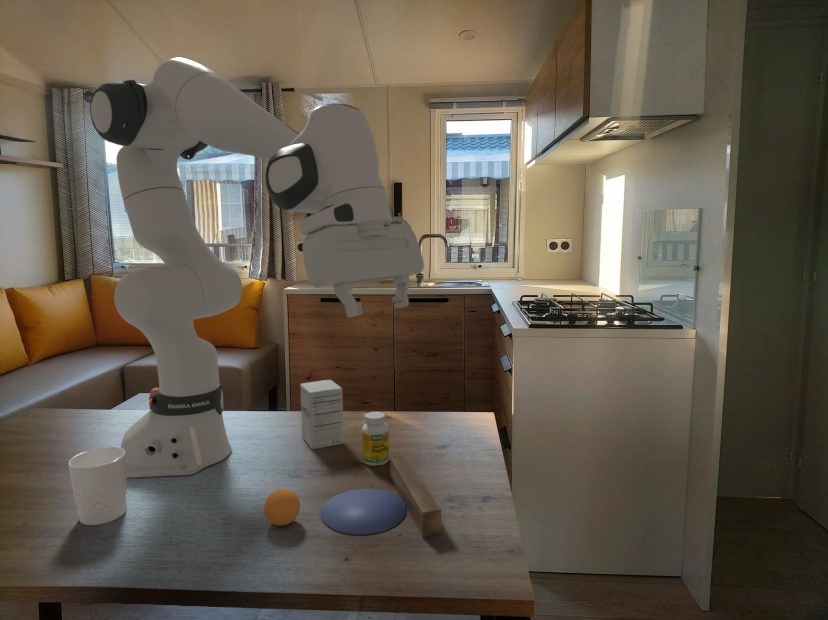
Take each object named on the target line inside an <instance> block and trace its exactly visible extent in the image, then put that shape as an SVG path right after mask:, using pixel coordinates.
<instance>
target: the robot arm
mask: <svg viewBox="0 0 828 620" xmlns="http://www.w3.org/2000/svg"><path fill="white" fill-rule="evenodd" d="M153 75H154V76H153V78H152V82H151V83H149V84H143V83H139V82H136V81H135V79H133V78H132V79H127V80H123V81H113V82H107V83H103V84H101V85H100V86H98V87H97V89H95V90H94V92H93V93H92V96H91V99H90V102H89V103H90V104H89V111H90V112H89V114H90V119H91V123H92V126H93V128H94V129H95V131H96V133H97V134H98V135H99V137H100V138H101V139H103V140H104V141H106V142H108V143H112V144H114V145H118V146H121V148H120V149H119V151H118V152H117V154H116V171H117V177H118V183H119V184H118V185H119V190H120V194H121V197H122V200H123V205H124V208H125V210H126V215H127V218H128V220H129V221H128V222H129V224H130V228H131V231H132V234H133V237H134V239H135V241H136V242H137V243H138V245H140V246H141V247H142V248H144V249H145V250H148V251H150V252H152V253H154V254H155V255H157V257H159V259H160V260H161V261H162V262H163V263H164V265H162V266H161V265H160V266H148V267H145V268H141V269H137V270H135V271H132V272H128V273H126V274H124V275H122V277H121V278H119V280H118V282H117V283H116V286H115V289H114V295H113V298H114V305H115V309H116V311H117V312H118V314H119V315H120V317H121V318H122V319H123V320H124V321H125V322H126V323H128V324H129V325H132V326H134V327H135V328H136V329H138V330H139V331H140V332H141V333H142V335H144V337H145V338H146V339H147V341H148V342H149V343H150V345H151V348H152V350H153V352H154V356H155V361H156V367H157V374H158V375H157V376H158V384H159V387H154V388H152V389H151V391H150V392H149V398H148V405H149V409H150V410H149V411H148V412H147V413H146V414H144V415H142V417H141V418H140V419H138V420H137V421H136V422H133V424H132V425H131V426H130V427H128V429H127V430H126V431H125V434H124V435H123V437H122V439H121V444H120V445H121V446H120V448H122V449H124V450H125V457H126V479H129V478H143V477H144V478H148V477H149V478H151V477H173V476H191V475H194V474H196V473H199V472H200V471H202V470H203V469H205V468H207V467H209V466H212V465H215V464H217V463H218V462H221V461H222V460H224V459H226V458H227V457H228V456H229V455H230V454H231V453H232V449H233V448H232V445H231V444H230V441H229V438H228V435H227V431H226V428H225V427H226V426H225V421H224V418H223V417H224V416H223V411H224V393H223V392H224V391H223V387H222V385H221V384H220V375H219V362H218V359H219V358H218V351H217V349H216V347H215V346H214V345H213V343H211V342H210V341H208V340H206V339H204V338H201V337H199V335H198V334H197V332H196V329H195V326H194V320H197V319H198V320H199V319H201V318H202V319H204V318H209V317H212V316H217V315H220V314H223V313H225V312H227V311H229V310H231V309H234V308H235V307H236V306H237V305H238V304H239V303H240V301H241V299H242V295H243V284H242V283H243V282H242V280H241V277H240V275H239V274H238V273H237V271H236V270H235V268H233V267H232V266H230V265H228V264H226V263H225V262H224V261H222V260H221V259H220V258H219V257H218V256H217V255H215V253H214V252H213V251H212V250H211V248H210V247H209V246H208V244H207V243H206V242H205V240H204V239H203V237H202V236H201V234H200V232H199V231H198V228H197V226H196V223H195V221H194V218H193V215H192V212H191V210H190V205H189V202H188V200H187V197H186V193H185V190H184V187H183V185H182V181H181V178H180V176H179V171H178V161H179V158H180V157H181V158H182V159H185V160H187V161H188V160H189V161H190V160H192V159H193V158H195V156H196V154H197V153H199V152H201V151H203V150H204V149H206V148H207V147H208V146H209V147H211V148H214V149H217V150H220V151H225V152H230V153H235V154H241V155H246V156H250V157H251V156H252V157H257V158H261V159H265V160H268V162H267V165H266V169H265V174H264V176H265V179H264V180H265V187H266V191H267V194H268V196H269V198H270V199H271V201H272V202H273V203H274V204H275V205H276V206H277V208H279V209H280V210H285V211H289V212H293V213H302V214H310V215H309V216H307V217H305V218H304V219H302V220H300V221H299V223H298V225H299V230H300V233H301V234H302V235H303V236H304V239H303V241H302V256H303V262H304V263H303V264H304V268H305V273H306V276H307V280H308V282H309V283H310V284H311V285H312V286H313V287H314V288H316V289H318V288H326V287H333V289H334V290H333V291H334V294H335V296H336V297H337V298H338V300H339V301H340V302H341V303H342V304H343V306H344V309H345V313H346V316H347V317H348V318H354V317H356V316H357V317H358V316H361V315H363V313H364V309H363V308H362V307H363V305H362V302H361V301H357V300H356V299H355V297H354V296H353V294H352V293H351V291H352V290H353V285H352V284H357V283H365V282H373V281H382V280H388V279H392V281H393V286H396V289H395V296H392V297H391V298H392V303H393V307H394V308H395V309H400V308H405V307H408V306H409V298H408V292H409V288H410V283H411V281H410V276H414V275H418V274H421V273H422V272H423V270H424V267H425V263H424V258H423V255H422V251H421V248H420V247H421V246H420V244H419V242H418V239H417V237H416V234H415V232H414V230H413V229H412V225H411V224H410V223H408V222H407V221H406V219H404V217H402V216H395V217H394V216H392V215H391V211H390V206H389V200H388V197H387V191H386V188H385V185H384V183H383V181H382V179H381V177H380V172H379V168H380V167H379V166H380V159H379V155H378V151H377V150H378V149H377V146H376V145H377V144H376V142H375V139H374V135H373V131H372V128H371V126H370V123H369V121H368V118H367V116H366V115H365V113H364V112H363V111H362V110H361V109H359V108H357V107H355V106H352V105H349V104H346V103H327V104H322V105H319V106H317V107H315V108H313V109H312V110H311V111H310V113H309V115H308V118H307V122H306V124H305V126H304V128H303V129H302V131H301V132H297V131H296V130H295V129H293V128H291V127H290V126H288V125H287V124H285V123H283V122H282V121H280V120H279V119H278V118H277V117H276V116H274V115H273V114H272V113H271V112H269V111H267V110H266V109H264V108H263V107H262V106H260V105H259V104H258V103H256V102H255V101H254V100H253V99H252V98H251V97H250V96H248V95H247V94H245V93H244V92H243V91H242V90H240V89H239V88H238V87H236V86H235V85H234V84H233V83H231V82H230V81H229V80H227V79H226V78H224V77H223V76H221V75H220V74H218V73H217V72H215V71H213V70H212V69H211V68H209V67H207V66H204V65H202V64H200V63H198V62H196V61H193V60H190V59H187V58H184V57H173V58H169V59H167V60H165V61H163V62H162V63H161V64H160V65H159V66H158V67H157V69H156V71H155V72H154V74H153Z"/></svg>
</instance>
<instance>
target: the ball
mask: <svg viewBox="0 0 828 620" xmlns="http://www.w3.org/2000/svg"><path fill="white" fill-rule="evenodd" d="M263 508H264V509H263V511H264V512H263V513H264V515H265V517H266V519H267V521H268V522H270V523H271V524H273V525H274V526H278V527H279V526H281V527H282V526H284V527H285V526H287V525H289V524H291V523H292V522H293V521H295V520H296V518H297V517H298V515H299V513H300V509H301V501H300V498H299V497H298V495H297V493H295V492H294V491H293V490H291V489H289V488H278V489H276V490H274V491H272V492H271V493H270V494H269V495H268V497H266V500H265V501H264V505H263Z"/></svg>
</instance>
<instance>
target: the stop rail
mask: <svg viewBox="0 0 828 620" xmlns="http://www.w3.org/2000/svg"><path fill="white" fill-rule="evenodd" d="M389 464H390V465H389V466H390V467H389V468H390V469H389V470H390V472H389V474H390V477H389V478H390V480H391V481H392V483H394V484H393V485H395V486H394V487H395V489H396V491H397V493H398V495H399V498H401V499H402V500H403V502H404V503H405V505H406V511H407V512H408V513H409V515H410V517H411V518H412V520H413V523H414V524H415V526H416V528H417V530H418V532H419V534H420V535H421V537H422V538H425V537H426V538H427V537H430V536H437V535H442V509H441V507H440V506H439V504H438V502H437V501H436V500H435V498H434V496H433V494H432V493H431V492H430V490H429V489H428V487H427V485H426V484H425V483H424V481H423V480H422V478H421V477H420V475H419V474H418V472H417V471H416V469H415V467H414V465H413V464H412V462H410V460H409V459H408V457H407V455H401V456H399V455H398V456H392V457H390V456H389Z"/></svg>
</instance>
